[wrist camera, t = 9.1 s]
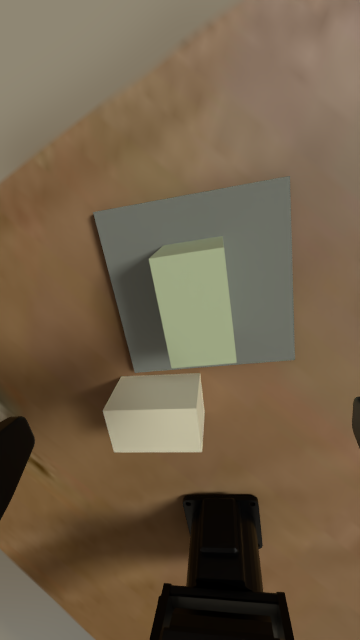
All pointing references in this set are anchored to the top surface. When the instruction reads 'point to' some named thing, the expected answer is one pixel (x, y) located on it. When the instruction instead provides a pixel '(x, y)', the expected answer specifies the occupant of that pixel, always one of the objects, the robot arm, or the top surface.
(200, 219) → the coaster
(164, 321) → the brick sage
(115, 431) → the brick cream
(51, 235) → the top surface
